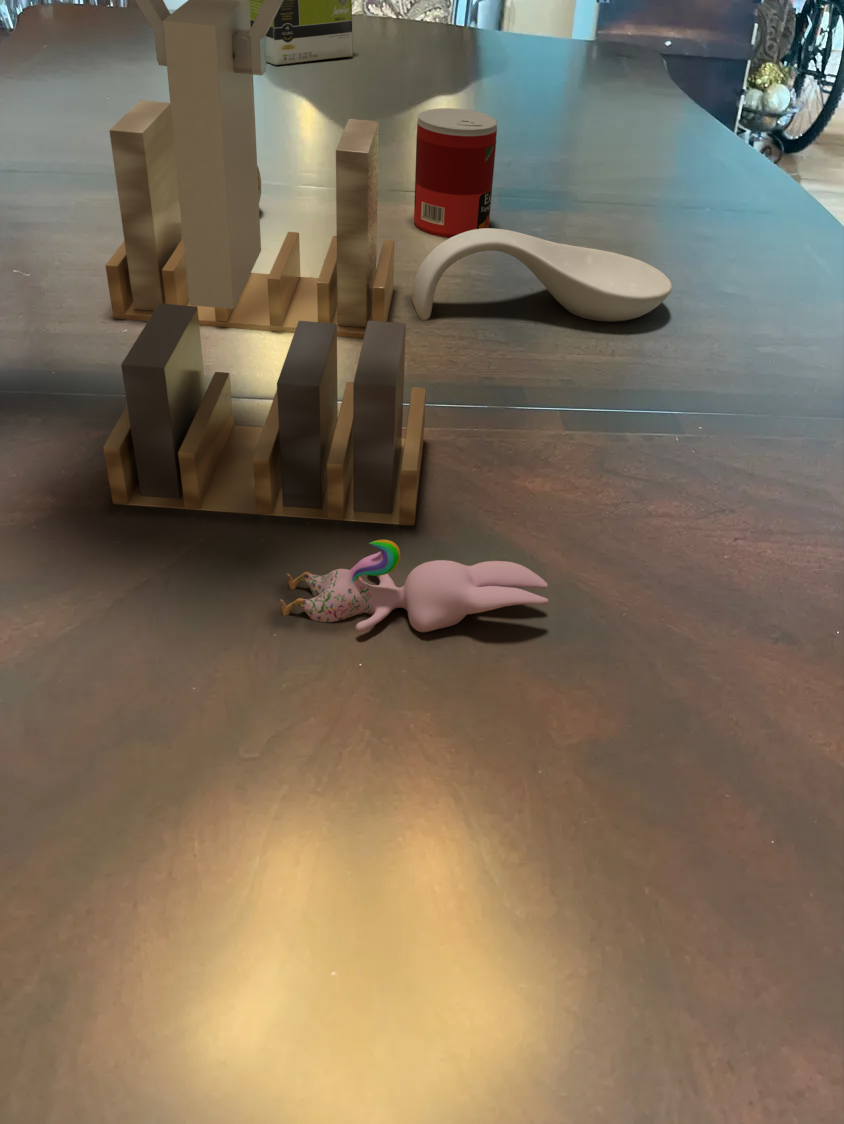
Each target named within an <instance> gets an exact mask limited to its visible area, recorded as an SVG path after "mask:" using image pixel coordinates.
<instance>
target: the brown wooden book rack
mask: <svg viewBox="0 0 844 1124" xmlns="http://www.w3.org/2000/svg"><path fill="white" fill-rule="evenodd" d="M406 326H407V324H406V322H393V321H387V322H382V321H368V322H367V326H366V331H365V335H364V338H362V339H363V340H362V344H361V347H360V348H361V349H360V353H359V358H358V361H357V366H356V370H355V375H354V379H353V381H346V382H345V387H344V391H343V395H342V398H341V403H340V407H339V406H338V404H339V403H338V397H339V396H338V336H337V324H335V323H322V322H310V321H299V322H298V324H297V327H296V330H295V333H293V336H292V339H291V342H290V344H289V347H288V350H287V353H286V356H285V358H284V362H283V364H282V366H281V367H282V368H281V370H280V373H279V375H278V379H277V382H276V390H275V394H274V396H273V398H272V399H273V400H272V402H271V405H270V408H269V411H268V414H267V416H266V419H265V422H264V425H263V426H251V425H250V426H249V425H238V424H237V425H235V424H234V422H235V421H234V411H233V398H232V397H233V396H232V387H231V374H230V372H224V371H223V372H222V371H214V373H213V376H212V377H211V380H210V382H209V384H208V386H207V388H206V381H205V379H206V378H205V371H204V360H203V350H202V349H203V348H202V340H201V328H200V325H199V317H198V307H197V306H185V305H172V304H160V303H159V304H158V306H157V307H156V309H155V311H154V312H153V314H152V316H151V317H150V319H149V320H148V321H146V323H145V325H144V327H143V328H142V329H141V331H140V333H139V335H138V336H137V338H136V339H135V341H134V343H133V344H132V346H131V348H130V350H129V351H128V353H127V354H126V356H125V357H124V359H123V360H122V363H121V364H120V367H121V373H122V380H123V386H124V394H125V400H126V407H125V408H124V410H123V412H122V413H121V415H120V416H119V419H118V420H117V423H116V424H115V426H114V427H113V429H112V431H111V433H110V435H109V436H108V438H107V440H106V441H105V443H104V445H103V447H102V448H103V453H104V458H105V459H104V460H105V467H106V471H107V476H108V477H107V478H108V483H109V489H110V495H111V500H112V504H114V505H125V506H126V505H127V506H139V507H140V506H141V507H151V508H153V507H154V508H166V509H167V508H168V509H179V510H181V509H182V510H184V509H185V510H195V511H197V510H198V511H209V512H210V511H211V512H222V513H235V514H236V513H237V514H249V515H250V514H251V515H265V516H276V517H278V516H279V517H293V518H307V519H318V520H319V519H321V520H331V521H332V520H333V521H334V520H335V521H348V522H360V523H361V522H362V523H373V524H375V523H376V524H387V525H401V526H415V523H416V514H417V505H418V495H419V487H420V478H421V477H420V475H421V467H422V460H423V459H422V458H423V449H424V448H423V447H424V439H425V438H424V437H425V418H426V402H427V401H426V399H427V398H426V397H427V388H426V387H416V386H412V387H411V388H410V389H411V390H410V398H409V403H408V404H409V405H408V412H407V420H406V426H405V433H404V434H405V435H404V437H403V420H404V418H403V416H404V391H405V389H404V388H405V364H406V363H405V360H406V336H407V335H406V331H407V330H406V329H407V327H406ZM338 407H339V408H338ZM338 409H339V410H338Z"/></svg>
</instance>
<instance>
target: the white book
mask: <svg viewBox="0 0 844 1124" xmlns="http://www.w3.org/2000/svg"><path fill="white" fill-rule="evenodd" d="M170 14H171V15H169V16H168V17H167V18H166V19H164V20H163V30H164V41H165V51H166V62H167V66H166V72H167V81H168V93H169V103H170V105H171V116H172V126H173V137H174V148H175V158H176V169H177V180H178V190H179V201H180V212H181V222H182V233H183V244H184V254H185V265H186V276H187V286H188V297H189V305H194V306H206V307H217V308H228V309H234V307H235V305H236V303H237V301H238V299H239V297H240V294H241V292H242V290H243V288H244V286H245V284H246V282H247V280H248V278H249V275H250V273H252V271H253V269H254V267H255V265H256V262H257V261H258V259H259V257H260V254H261V252H262V239H261V217H260V202H259V193H258V171H257V165H258V152H257V150H258V149H257V131H256V130H257V129H256V128H257V127H256V111H255V109H256V107H255V88H254V86H255V85H254V75H250V74H242V73H235V72H234V67H233V59H234V57H235V55H234V53H233V51H232V35H233V34H234V33H236V31H237V30H238V29H240V30H250V29H251V20H250V0H186V2H184V3H183V4H181V6H179V7H178V8H176V9H175V10H174V11H173V12H172V13H170Z"/></svg>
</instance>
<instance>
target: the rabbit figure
mask: <svg viewBox="0 0 844 1124" xmlns="http://www.w3.org/2000/svg"><path fill="white" fill-rule="evenodd" d="M368 544H369V545H372V546H374V547H375V548H376V549H377V550H379V552H376V553H374V554H373V553H372V554H370V555H368V556H366V557H365V556H364V557H363V558H362V559H360V560H359V561H358V562H357V563H356V564H355V565H354V566H353V567H352V568H351V569H346V568H337V569H336V568H335V569H333V570H332V571H330V572H329V573H327V574H323V575H319V574H314V573H311V572H309V571H305V572H302V574H301V575H299V576H297V577H295V578H293V577H292V575H291V574H290V573H286V575H287V577H288V578H289V580H288V581H287V583H288V586H289V587H288V588H289V589H291V590H295V589H297V587H298V584H299V583H301V582H304V583H306V584H307V585H308V587H309V589H310V591H311V593H312V596H313V597H311V598H306V599H305V598H302V597H299V598H297V599H296V600H294V601H292V602H291V603H288V604H286V602H285V601H284V600H283V599H278V600H279V601H280V602H281V604H282V606H281V607H280V608H281V613H282V615H283V616H289V615H290V614H291V610H293V608H295V607H300V608H301V609H302V610H303V612H304V613H305V614H306V615H307V616H308V618H309V619H310V620H312V621H316V622H322V623H334V622H339V621H342V620H346V619H349V618H351V617H353V616H356V615H360V614H361V615H362V614H367V615H371V616H370V617H368V618H367V619H365V620H361V621H359V622H357V623H356V625H355V630H356V631H357V632H358V633H363V632H365V631H367V630H369V629H371V628H372V627H374V626H375V625H377V624H379V623H380V622H381V621H383V620H384V619H386V617H387V616H388V615H390V613H391V612H392V611H394V610H396V609H399V608H401V609H404V610H406V612H407V616H408V621H409V624H410V625H411V627H412V628H413V629H414V630H415V631H416V632H419V633H429V632H432V631H436V630H440V629H444V628H449V627H452V626H454V625H457V624H459V623H460V622H461V621H462V620H463V619H464V618H465V617H466V616H467V615H472V614H479V613H483V612H488V611H493V610H496V609H501V608H505V607H510V606H511V607H512V606H517V605H518V606H519V605H546V604H548V603H549V599H548V598H546V597H545V596H541V595H539V594H536V593H533V592H530V591H528V590H524V589H525V588H527V589H529V588H533V589H535V588H536V589H548V587H549V584H548V583H547V581H545V580H544V579H543V578H542V577H541V576H539V575H538V574H537V573H535V572H534V571H533V570H531V569H529V568H528V567H526V566H524V565H522V564H519V563H517V562H512V561H505V560H489V561H482V562H477V563H475V564H472V565H466V564H463V563H461V562H457V561H453V560H447V559H446V560H445V559H436V560H430V561H426V562H423V563H421V564H419V565H417V566H415V567H414V568H412V570H411V571H410V572H409V574H408V575H407V578H406V579H405V582H404V585H403V586H401V587H398V586H396V584H395V582H394V580H393V579H392V577H391V576H390V575H389V574H390V573H392V572H393V571H394V570H395V569H396V568H397V567H398V565H399V563H400V562H401V550H400V547H399V546H398V545H397V543H395V542H394V541H392V540H389V539H377V540H373V541H371V542H369V543H368ZM362 576H371V577H372V576H374V577H377V579H378V581H379V584H377V585H376V584H375V585H374V584H370V583H368V582H367V581H365V580H364V579H363V578H361V577H362ZM521 588H524V589H521Z"/></svg>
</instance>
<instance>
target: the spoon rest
mask: <svg viewBox="0 0 844 1124" xmlns="http://www.w3.org/2000/svg"><path fill="white" fill-rule="evenodd" d="M487 251H488V252H489V251H492V252H493V251H494V252H501V253H504V254H507V255H510V256H512V257H513V258H515V259H517V260H518V261H519V262H521V263H522V264H523V265H524V266H525V267H527V269H528V270H529V271H530V272H531V273H532V274H533V275H534V276H535V277H536V278H537V280H538V281H539V282H540V283H541V284H542V285H543V286H544V287H545V288H546V290H547V292H549V294H551V296H552V297H553V298H554V299H555V301H557V302H558V303H559V304H560V305H561V307H563V308H564V309H565V310H566V311H568V312H569V313H570V314H573V315H574V316H576V317H579V318H583V319H586V320H590V321H598V322H606V323H608V322H609V323H611V322H613V323H614V322H623V321H624V322H625V321H629V320H633V319H637V318H639V317H642V316H645V315H646V314H648V313H650V312H651V311H653V310H654V309H656V308H657V307H658V306H660V305H661V304H662V303H663V302H664V301H665V300H666V299H667V298H668V297H669V295H670V294H671V293H672V291H673V286H672V282H671V280H670V279H669V278H668V276H666V275H665V273H664V272H662V271H661V270H659V269H658V268H656V267H655V266H653V265H650V264H649V263H647V262H644V261H642V260H640V259H637V258H634V257H632V256H628V255H624V254H620V253H617V252H612V251H608V250H603V249H602V250H601V249H597V248H591V247H584V246H577V245H571V244H565V243H559V242H555V241H550V240H548V239H543V238H540V237H537V236H534V235H530V234H526V233H522V232H518V231H514V230H509V229H502V228H493V227H491V228H490V227H488V228H483V229H475V230H470V231H466V232H463V233H460V234H458V235H456V236H453V237H448V238H447V239H445V240H444V241H442V242H441V243H439V244H438V245H437V246H435V248H433V249H432V250H431V251H430V252H429V254H428V255H427V256H426V257H425V259H424V260H423V261H422V263H421V264H420V266H419V268H418V270H417V273H416V275H415V278H414V280H413V284H412V291H411V303H412V305H413V307H414V310H415V313H416V314H417V316H418V318H419V319H420V320H421V321H427V320H429V319H430V318H431V315H432V309H433V304H434V299H435V298H434V297H435V293H436V289H437V286H438V284H439V282H440V279H441V278H442V276H443V275H444V273H445V272H446V271H447V270H448V269H449V268H450V267H451V266H452V265H453V264H455V263H457V262H458V261H460V260H461V259H463V258H465V257H468V256H470V255H473V254H477V253H480V252H487Z"/></svg>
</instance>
